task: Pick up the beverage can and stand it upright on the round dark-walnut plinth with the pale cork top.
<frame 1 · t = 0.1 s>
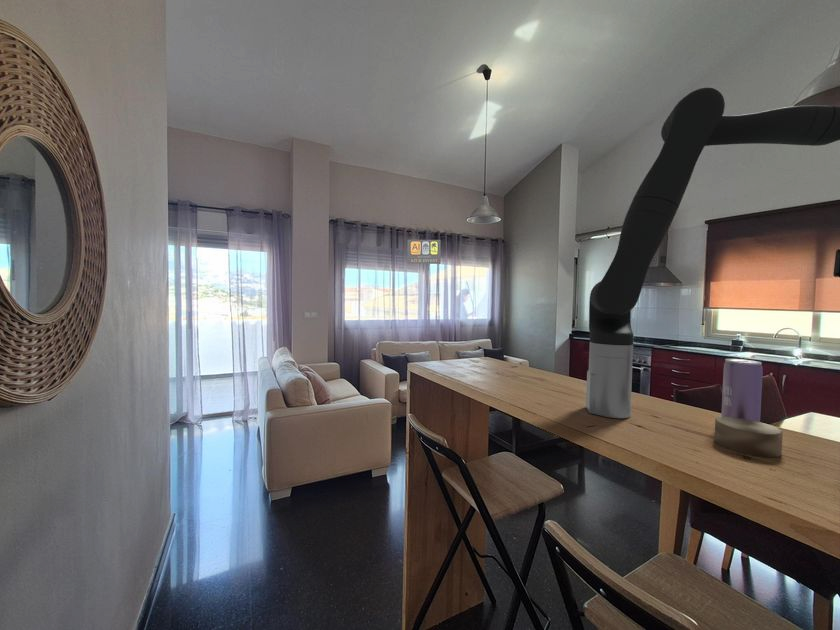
beverage can: (739, 430, 71), on the table
plinth: (746, 446, 62), on the table
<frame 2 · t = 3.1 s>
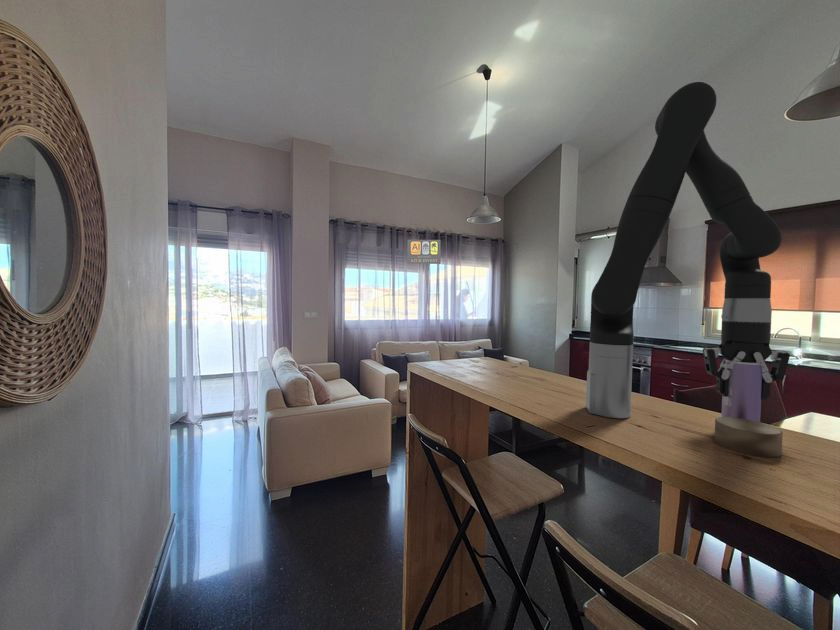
hand: (742, 397, 71), 7 cm above the table, fingers closed on beverage can, 5 cm apart
beverage can: (739, 430, 71), on the table, touching gripper
when the fingers open (12 cm above the table, at t = 8.2 s): beverage can stays where it is, resting on plinth.
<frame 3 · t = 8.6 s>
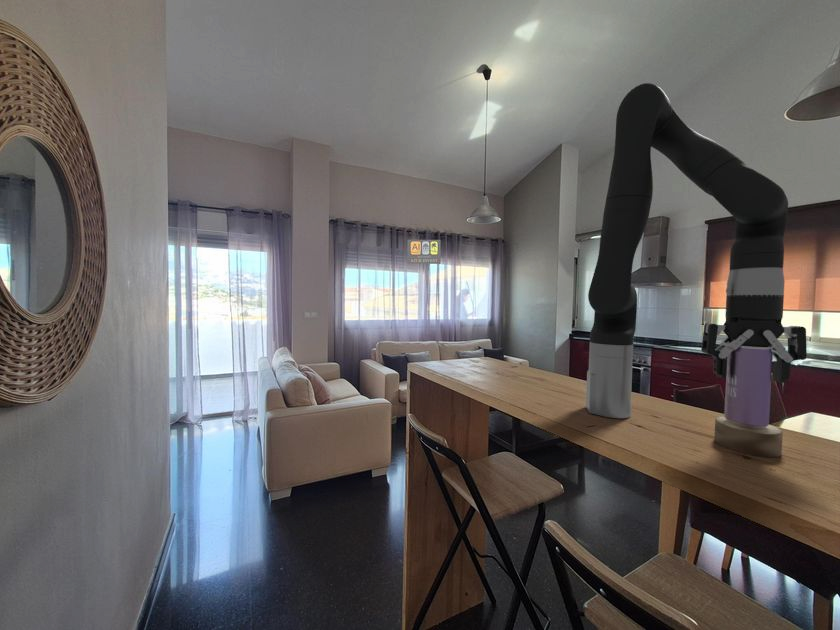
hand: (749, 379, 61), 13 cm above the table, fingers open, 8 cm apart
beverage can: (745, 425, 62), point 4 cm above the table, touching plinth
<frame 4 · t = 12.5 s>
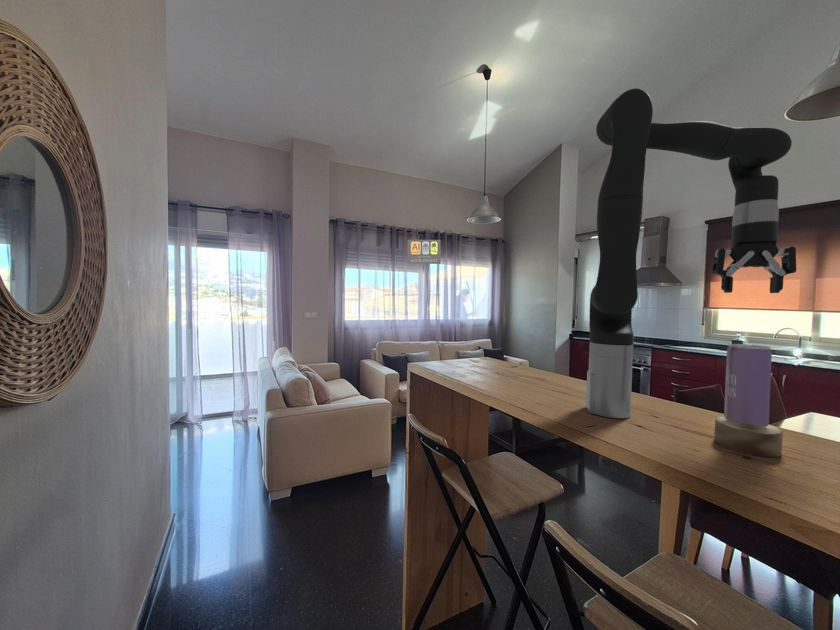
hand: (750, 292, 77), 30 cm above the table, fingers open, 8 cm apart
nothing on the table moved.
at the end: beverage can 0.2 cm off-centre on the plinth, point 4.0 cm above the plinth's base; beverage can tilted 0°; the gripper is holding nothing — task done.
